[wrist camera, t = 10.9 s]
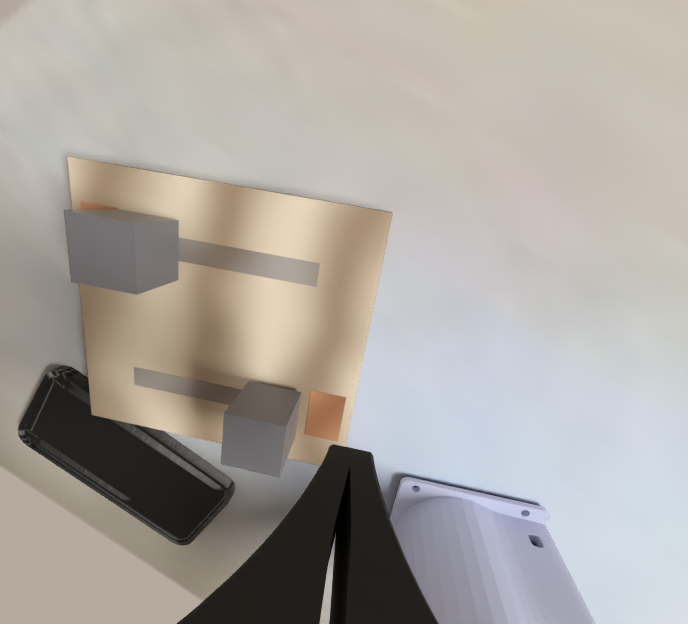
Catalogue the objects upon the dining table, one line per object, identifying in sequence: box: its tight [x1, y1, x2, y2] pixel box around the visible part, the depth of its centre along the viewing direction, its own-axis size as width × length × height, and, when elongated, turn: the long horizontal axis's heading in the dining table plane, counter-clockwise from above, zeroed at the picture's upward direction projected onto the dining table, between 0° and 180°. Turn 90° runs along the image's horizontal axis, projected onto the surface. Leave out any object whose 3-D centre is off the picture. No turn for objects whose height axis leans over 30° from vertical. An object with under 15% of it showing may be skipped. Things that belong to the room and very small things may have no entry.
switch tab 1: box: [64, 210, 179, 295], centre depth 15 cm, size 3×3×3 cm
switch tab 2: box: [221, 381, 302, 477], centre depth 17 cm, size 3×3×3 cm
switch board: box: [67, 157, 393, 466], centre depth 19 cm, size 16×15×2 cm
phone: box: [18, 366, 235, 545], centre depth 24 cm, size 8×1×15 cm
